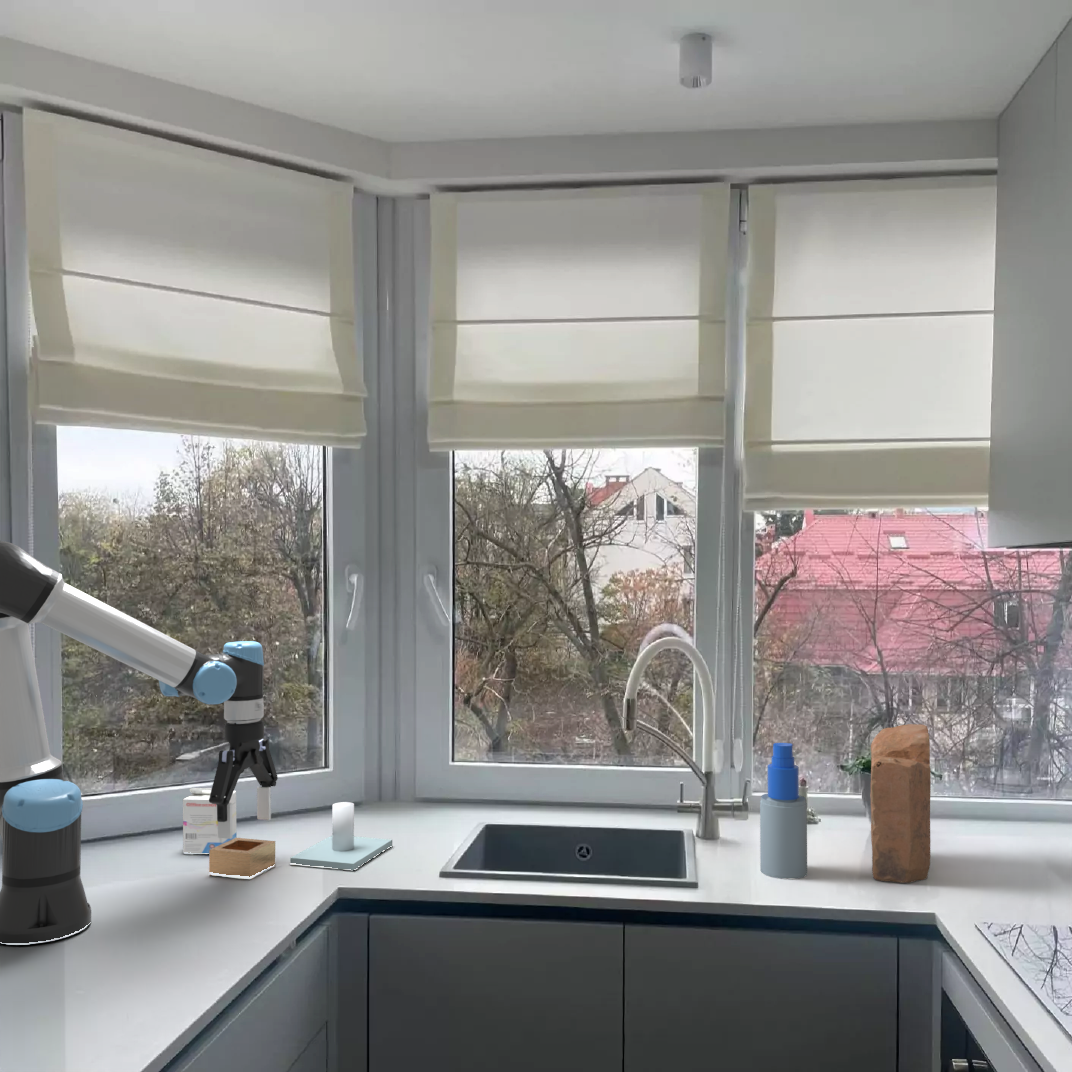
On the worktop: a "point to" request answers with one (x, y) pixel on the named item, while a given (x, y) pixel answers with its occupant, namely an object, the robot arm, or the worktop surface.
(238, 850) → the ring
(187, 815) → the ink box
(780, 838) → the spray bottle
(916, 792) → the stone
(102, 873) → the worktop surface
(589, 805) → the worktop surface
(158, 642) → the robot arm
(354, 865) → the post stand
